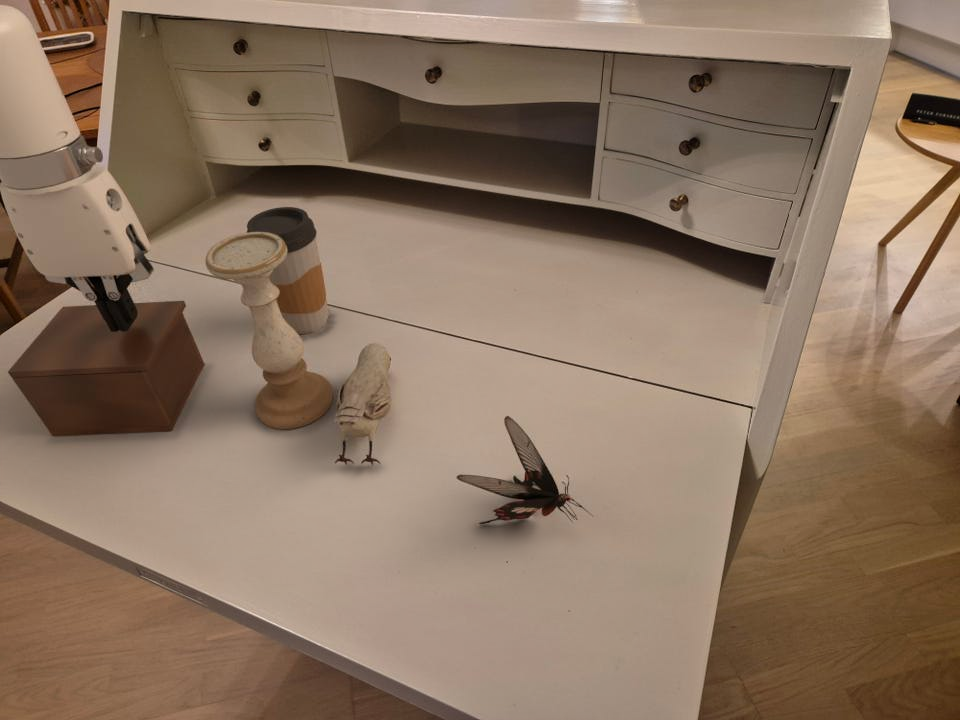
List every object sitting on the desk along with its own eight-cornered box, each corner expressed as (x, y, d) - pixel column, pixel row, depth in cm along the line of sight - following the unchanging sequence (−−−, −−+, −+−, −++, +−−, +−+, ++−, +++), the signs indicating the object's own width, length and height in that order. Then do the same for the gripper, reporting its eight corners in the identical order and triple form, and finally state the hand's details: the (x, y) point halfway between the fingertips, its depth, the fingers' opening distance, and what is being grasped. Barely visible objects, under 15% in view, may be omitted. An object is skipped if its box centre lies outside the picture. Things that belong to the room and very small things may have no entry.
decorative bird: (404, 370, 77) (396, 321, 72) (383, 474, 65) (371, 423, 60) (361, 371, 77) (349, 321, 73) (331, 474, 65) (315, 423, 60)
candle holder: (320, 432, 70) (272, 276, 57) (244, 428, 71) (180, 274, 58) (342, 378, 76) (304, 228, 63) (273, 376, 78) (221, 227, 64)
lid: (186, 305, 74) (184, 300, 74) (147, 371, 65) (144, 365, 65) (65, 312, 75) (62, 306, 74) (11, 377, 66) (6, 371, 65)
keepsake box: (204, 364, 80) (180, 307, 74) (171, 431, 71) (140, 372, 65) (98, 368, 80) (65, 312, 75) (52, 436, 71) (11, 378, 66)
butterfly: (494, 548, 62) (430, 472, 61) (551, 488, 65) (492, 414, 63) (543, 576, 52) (469, 487, 50) (609, 505, 55) (541, 417, 53)
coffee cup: (304, 297, 90) (277, 199, 81) (349, 313, 87) (327, 213, 77) (261, 329, 85) (227, 228, 75) (307, 347, 82) (277, 244, 72)
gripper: (142, 143, 60) (204, 301, 72) (-13, 149, 60) (74, 306, 72) (107, 176, 54) (180, 343, 66) (-64, 183, 55) (39, 348, 67)
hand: (125, 323), depth 69 cm, fingers closed
